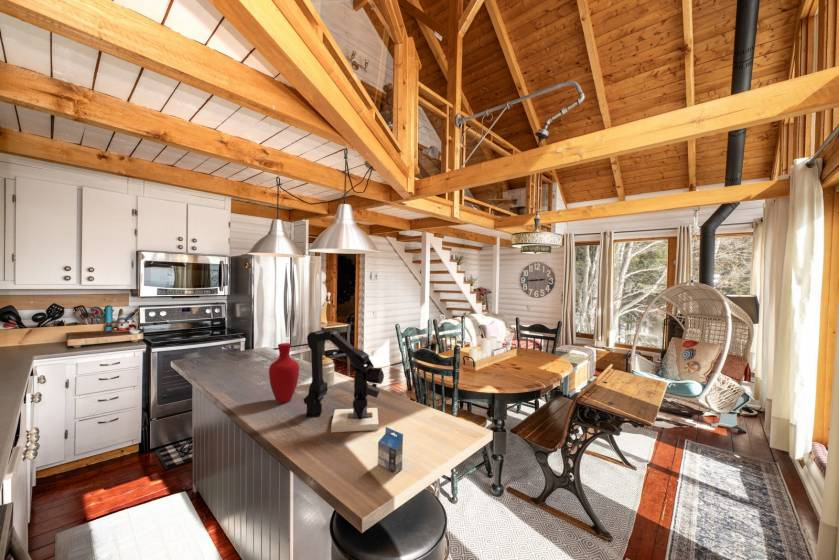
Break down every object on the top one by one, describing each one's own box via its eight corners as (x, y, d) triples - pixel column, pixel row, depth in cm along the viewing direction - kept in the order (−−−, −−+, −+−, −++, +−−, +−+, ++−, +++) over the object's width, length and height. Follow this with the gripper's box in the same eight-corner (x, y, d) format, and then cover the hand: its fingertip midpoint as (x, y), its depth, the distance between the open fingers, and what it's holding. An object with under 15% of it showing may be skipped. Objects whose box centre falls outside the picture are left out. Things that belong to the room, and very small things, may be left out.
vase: (274, 408, 168) (274, 348, 168) (264, 400, 179) (265, 343, 179) (303, 401, 178) (304, 344, 178) (292, 394, 189) (293, 340, 189)
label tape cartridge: (377, 464, 121) (377, 430, 120) (384, 460, 124) (385, 426, 123) (395, 474, 115) (395, 438, 115) (403, 469, 118) (403, 434, 118)
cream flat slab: (331, 432, 144) (331, 426, 144) (334, 414, 162) (335, 409, 162) (378, 429, 148) (378, 423, 148) (377, 412, 165) (377, 407, 165)
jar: (310, 382, 209) (311, 354, 209) (332, 380, 215) (332, 352, 214) (313, 389, 197) (314, 359, 197) (336, 386, 203) (336, 357, 203)
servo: (347, 423, 152) (347, 410, 152) (348, 420, 156) (348, 407, 156) (372, 422, 154) (372, 409, 154) (372, 418, 158) (372, 406, 158)
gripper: (379, 387, 147) (378, 423, 147) (377, 374, 165) (377, 406, 166) (353, 388, 145) (352, 424, 145) (354, 375, 164) (354, 407, 164)
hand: (360, 415), depth 155 cm, fingers open, 9 cm apart
